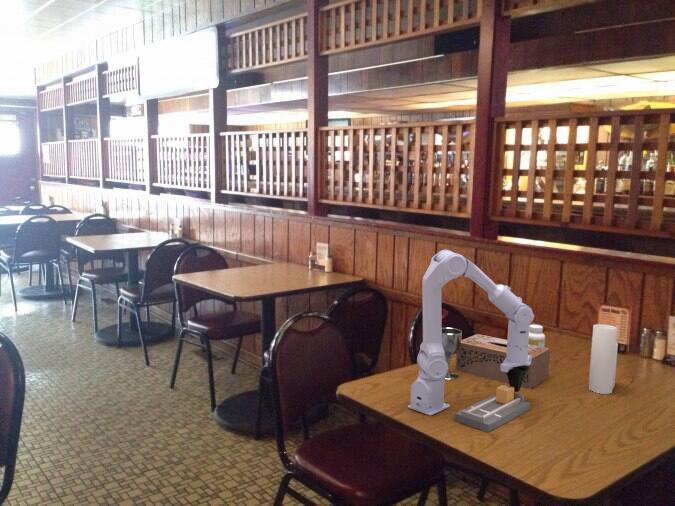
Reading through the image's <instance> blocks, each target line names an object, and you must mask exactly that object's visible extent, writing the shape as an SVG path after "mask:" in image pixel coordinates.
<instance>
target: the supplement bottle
mask: <svg viewBox="0 0 675 506" xmlns="http://www.w3.org/2000/svg"><path fill="white" fill-rule="evenodd" d="M543 330H544V326H542V325H540V324H530V327H529V341H528V344H530V345H535V346H540V347H545V348H546V345H545V343H546V335H545V334H544V333H543Z"/></svg>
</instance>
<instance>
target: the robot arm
mask: <svg viewBox="0 0 675 506" xmlns="http://www.w3.org/2000/svg"><path fill="white" fill-rule="evenodd" d="M461 276H462V277H465V278H469V279H470V280H472V281H473V282H474V283H475V284H476V285H477V286H479V287H480V288H481V289H483V291H485V292H486V293H487V295H488V296H487V297H488V300H489V301H490V303H491V304H492V305H494V306H495V307H496V308H498V309H499V310H500V311H501V312H503V314H504V315H505V317H506V318H507V319H508V322H507V323H508V324H507V325H508V326H507V339H506V340H507V355H506V358H505V360H504V362H503V363H502V364H501V368H500V371H503V372H506V374H507V377H508V380H509V383H508V386H511V387H514V393H519V392H520V390H521V388H522V387H521V384H522V381H523V378H524V376H525V374H526V373H527V371H528V370H529V367H527V366H529V365H531V361H532V355H529V354H528V341H529V327H530V325H531V324H532V322H533V321H534V319H535V314H534V313H533V312H534V311H533V309H532V308H531V306H529V305H527V304H526V303H523V299H522V297H520V296H516V294H514V293H513V292H512V290H511V289H512V288H511V287H510V286H508V285H504V284H496V283H495V282H494V281H493V280H492V279H491V278H490V277H489V276H488V275H486V274H485V272H483V271H482V270H481V269H480V268H479V267H478V266H477V265H476V264H475V263H474V262H472V261H471V260H469V259H468V258H465V256H463V255H462V254H459V253H455V252H454V251H452V250H449V249H443V250H440V251H439V252H437V253H436V254H434V255H433V256H432V257H431V261H430V264H429V266H428V268H427V270H426V271H425V273H424V274H423V277H422V284H421V285H422V286H421V287H422V289H421V291H422V292H421V293H422V342H421V344H420V346H419V348H420V349H419V352H418V355H417V358H416V363H417V365H418V366H419V368H420V370H419V371H418V376H417V379H416V380H415V381H414V382H412V384H411V386H410V400H409V401H410V404H409V405H407V408H408V409H411V410H413V411H416V412H419V413H422V414H425V415H428V416H433V415H435V414H437V413H439V412H443V411H444V410H446V409H448V408H450V406H451V405H450V404H449V403H448V404H447V403H445V385H446V383H445V380H446V379H445V375H446V374H447V372H448V364H447V362H446V357H445V353H444V349H443V346H442V328H443V327H442V325H443V324H442V323H443V322H442V319H443V318H442V316H443V315H442V308H443V307H442V304H443V303H442V288H443V287H444V286H445V285H447V283H449V282H450V281H452V280H454V279H457V278H459V277H461ZM524 365H527V366H524Z"/></svg>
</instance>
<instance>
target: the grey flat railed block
mask: <svg viewBox="0 0 675 506" xmlns="http://www.w3.org/2000/svg"><path fill="white" fill-rule="evenodd" d="M530 407H531V402H528V401H525V395H523V394H519V393H518V392H514V400H513V401H511V402H509V403H507V404H502V403H499V402H496V393H495V394H493V395H490V396H489V397H487V398H484V399H482V400H480V401H478V402H476V403H473V404H471V405H470V406H468V407H466V408H463V409H462V410H459V411H457V412H455V414H454V421H455V422H457V423H460V424H463V425H465V426H469V427H472V428H475V429H477V430H480V431H483V432H485V433H490V432H492V431H494V430H496V429H498V428H499V427H501V426H503V425H504V424H506V423H508V422H510V421H512V420H513V419H515V418H518V416H520V415H522V414H525V413H526V412H527V411H529V410H530Z"/></svg>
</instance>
